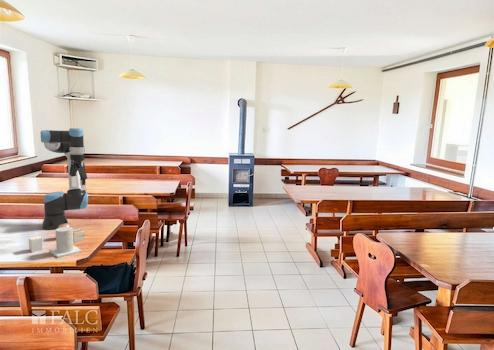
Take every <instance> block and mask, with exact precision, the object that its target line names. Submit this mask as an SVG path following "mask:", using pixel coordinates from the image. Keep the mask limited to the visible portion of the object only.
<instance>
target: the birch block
mask: <svg viewBox="0 0 494 350" xmlns="http://www.w3.org/2000/svg"><path fill="white" fill-rule="evenodd" d="M85 233H86V232H85V230H84V229H82V228H77V229H73V243H74V244H75V243H80V242H84V241H86V236H85V235H86V234H85Z"/></svg>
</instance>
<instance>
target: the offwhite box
mask: <svg viewBox="0 0 494 350" xmlns="http://www.w3.org/2000/svg"><path fill="white" fill-rule="evenodd" d="M28 247H29V248H28V250H29V251H30V252H31V253H36V251H37V252H40V251H43V249H44V248H43V238H42V237H41V236H40V235H36V236H32V237H31V236H30V237H28Z"/></svg>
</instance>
